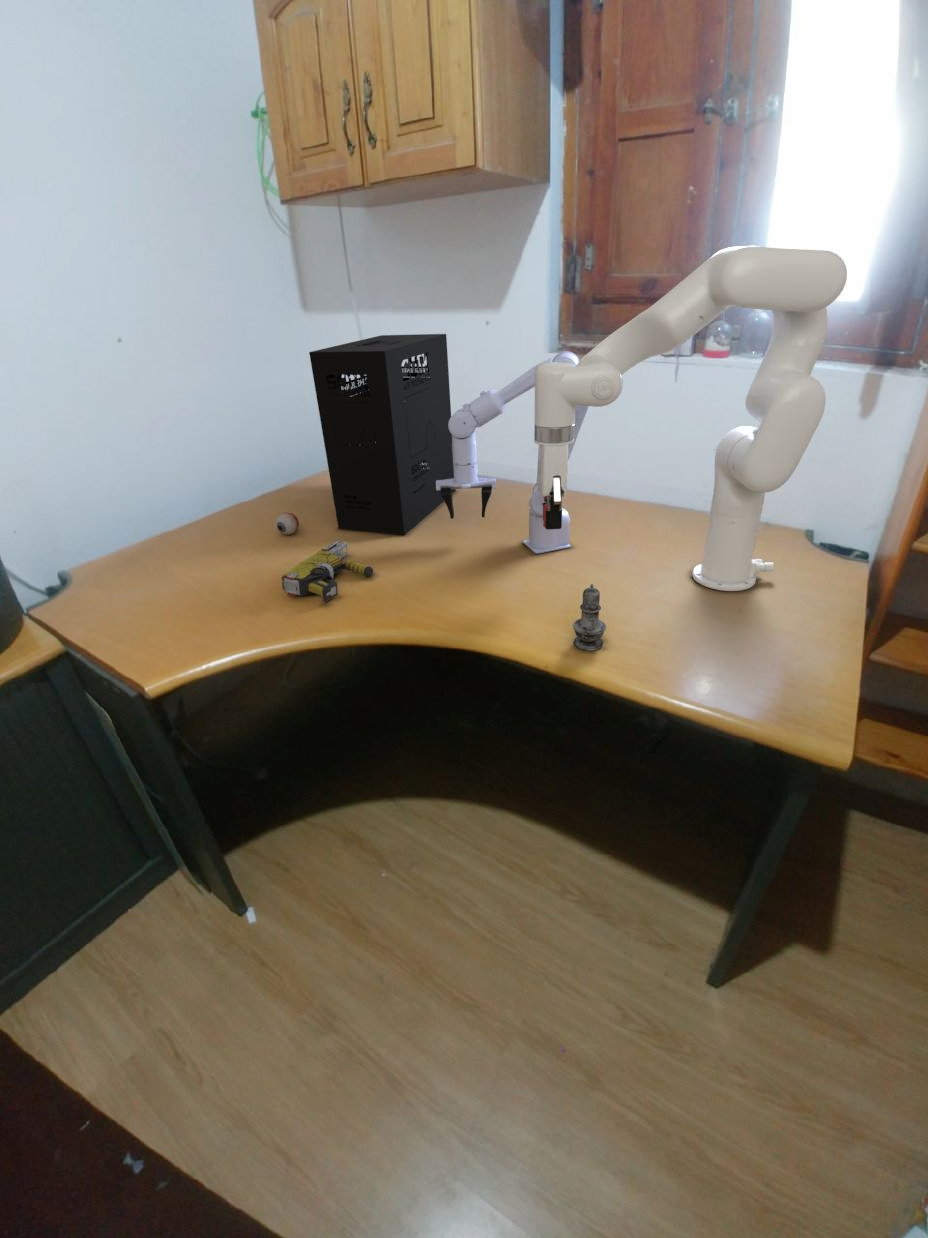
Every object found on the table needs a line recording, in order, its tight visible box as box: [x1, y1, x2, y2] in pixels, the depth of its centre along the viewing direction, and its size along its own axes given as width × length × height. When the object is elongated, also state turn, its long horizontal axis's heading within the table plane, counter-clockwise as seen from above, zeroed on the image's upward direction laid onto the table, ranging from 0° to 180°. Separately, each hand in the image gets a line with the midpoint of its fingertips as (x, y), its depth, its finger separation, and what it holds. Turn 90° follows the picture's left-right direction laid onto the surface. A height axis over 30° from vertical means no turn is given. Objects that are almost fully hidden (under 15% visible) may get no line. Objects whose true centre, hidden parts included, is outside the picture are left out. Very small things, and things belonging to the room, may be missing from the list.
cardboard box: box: [308, 333, 457, 536], centre depth 167 cm, size 38×20×45 cm, turn 160°
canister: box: [543, 504, 547, 527], centre depth 122 cm, size 4×4×4 cm
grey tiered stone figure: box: [572, 583, 607, 652], centre depth 107 cm, size 6×6×12 cm
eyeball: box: [275, 511, 300, 536], centre depth 163 cm, size 6×6×6 cm
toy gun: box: [281, 539, 374, 603], centre depth 138 cm, size 5×24×15 cm
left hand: (467, 516), depth 150 cm, fingers open, 7 cm apart
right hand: (552, 523), depth 123 cm, fingers closed on canister, 3 cm apart
